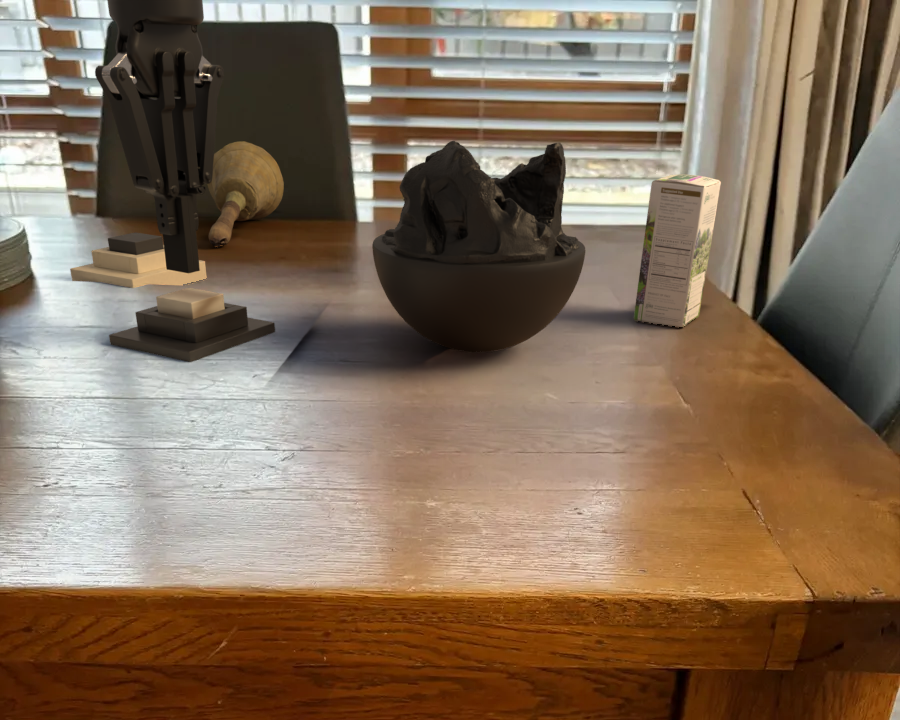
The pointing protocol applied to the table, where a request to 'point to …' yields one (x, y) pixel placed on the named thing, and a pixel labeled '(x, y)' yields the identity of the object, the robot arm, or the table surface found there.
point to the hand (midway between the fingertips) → (183, 269)
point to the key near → (190, 303)
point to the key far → (135, 243)
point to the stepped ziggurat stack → (133, 269)
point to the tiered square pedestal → (191, 333)
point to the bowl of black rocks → (480, 250)
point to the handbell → (243, 187)
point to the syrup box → (676, 249)
